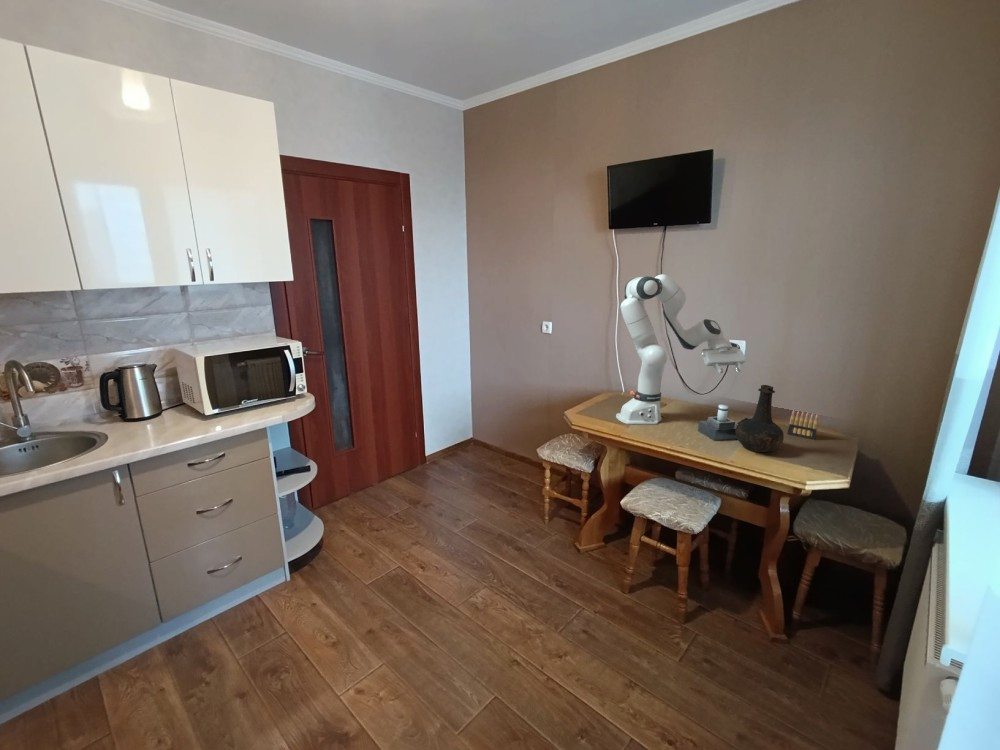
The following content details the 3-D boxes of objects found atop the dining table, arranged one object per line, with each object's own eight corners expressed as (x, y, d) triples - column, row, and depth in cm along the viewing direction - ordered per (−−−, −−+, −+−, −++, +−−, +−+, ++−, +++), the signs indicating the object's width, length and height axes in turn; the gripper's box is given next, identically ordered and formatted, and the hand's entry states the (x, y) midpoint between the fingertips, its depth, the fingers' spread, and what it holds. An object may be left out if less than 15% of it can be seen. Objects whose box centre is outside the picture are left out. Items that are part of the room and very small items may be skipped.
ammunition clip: (787, 434, 202) (791, 409, 199) (787, 433, 204) (792, 408, 201) (815, 440, 195) (819, 414, 192) (815, 438, 197) (820, 413, 194)
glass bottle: (742, 436, 200) (750, 377, 193) (787, 448, 187) (797, 385, 180) (726, 447, 188) (735, 385, 181) (773, 461, 175) (784, 394, 168)
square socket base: (714, 440, 195) (716, 425, 193) (697, 430, 207) (699, 416, 205) (742, 438, 198) (744, 422, 196) (724, 428, 209) (726, 414, 207)
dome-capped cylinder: (720, 426, 199) (722, 407, 196) (714, 423, 203) (716, 404, 200) (728, 425, 199) (730, 407, 197) (722, 422, 203) (724, 404, 201)
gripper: (703, 345, 214) (713, 369, 207) (741, 344, 217) (752, 367, 210) (697, 352, 219) (707, 376, 212) (734, 351, 222) (744, 374, 215)
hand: (730, 372), depth 211 cm, fingers open, 8 cm apart
